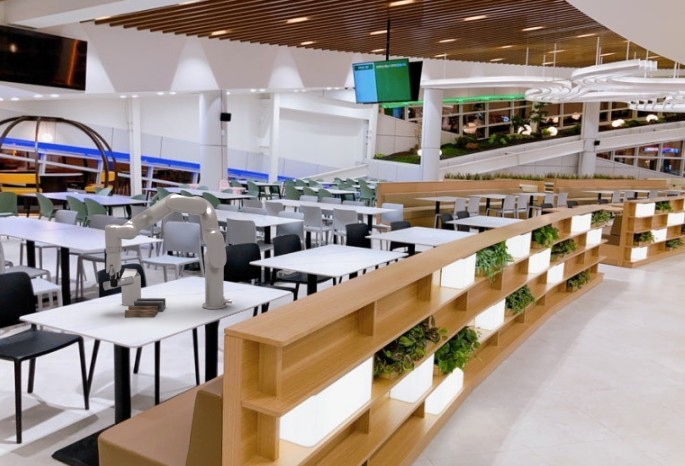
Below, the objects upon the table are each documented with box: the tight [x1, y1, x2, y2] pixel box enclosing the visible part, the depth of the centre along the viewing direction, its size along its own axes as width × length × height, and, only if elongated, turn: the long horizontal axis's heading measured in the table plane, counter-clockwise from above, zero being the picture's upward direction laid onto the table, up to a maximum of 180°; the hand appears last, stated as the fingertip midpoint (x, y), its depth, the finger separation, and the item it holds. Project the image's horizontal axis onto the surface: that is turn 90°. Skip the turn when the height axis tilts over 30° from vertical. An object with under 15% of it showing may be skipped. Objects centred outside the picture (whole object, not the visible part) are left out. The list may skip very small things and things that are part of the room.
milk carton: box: [120, 268, 142, 307], centre depth 308 cm, size 7×7×19 cm
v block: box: [134, 297, 167, 313], centre depth 299 cm, size 14×8×5 cm, turn 96°
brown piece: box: [124, 305, 159, 318], centre depth 289 cm, size 14×8×4 cm, turn 96°
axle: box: [102, 276, 134, 291], centre depth 289 cm, size 14×4×4 cm, turn 96°
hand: (115, 285), depth 289 cm, fingers closed on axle, 4 cm apart
